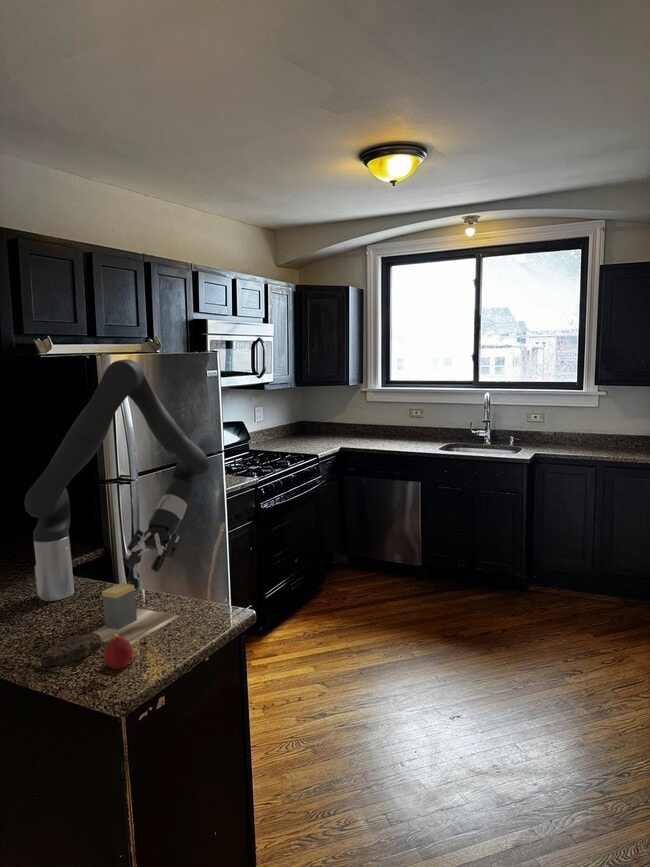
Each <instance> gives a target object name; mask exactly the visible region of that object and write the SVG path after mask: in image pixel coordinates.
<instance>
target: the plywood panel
mask: <svg viewBox="0 0 650 867" xmlns="http://www.w3.org/2000/svg"><path fill="white" fill-rule="evenodd" d="M136 616H137V620H136V621H134V622H133V623H131V624H129V625H127V626H125V627H123V628H121V629H119V630H116V629H112V628H107V627H105V625H104V626H102V627H100V628H98V629H96V630H94V631H92V632H91V633H93V632H94V633H96V634H98V635H99V636H100V637H101V638H102V640H101V641H102V643H107V644H108V643H109V642H110V641H111V640H112V639H113V635H115V634H116V635H118V636H120V637H121V638H124V639H126V640H127V641H128V642H129V643H130V644H131V645H132V644H135V643H136V642H138V641H139V640H142V639H143V638H145V637H147V636H148V635H150V634H152V633H153V632H155V631H157V630H158V629H160V628H162V627H164V626H166V625H167V624H170V623H171V622H173V621H175V620H176V619H178V618H180V617H181V616H180V615H177V614H175V613H171V612H165V611H155V610H150V609H149V610H148V609H144V608H136Z"/></svg>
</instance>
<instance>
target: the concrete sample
mask: <svg viewBox="0 0 650 867" xmlns="http://www.w3.org/2000/svg"><path fill="white" fill-rule="evenodd" d="M92 632H93V633H92ZM92 632H88V633H86V634H83V635H81V634H80V635H76V636H70V637H67V638H64V640H62V641H60V642H58V643H56V644H55V645H54V644H53V645H52V647H50V648H49V649H47V650H46V651H45V652H44V653H43V654H42V655H41V656H40V659H39V661H40V663H41V664H40V665H41V667H45V666H47V667H51V666H61V665H62V666H64V665H68V664H67V663H73V662H74V661H80V660H81V659H84V658H86V657H88V656H89V655H90V654H91V653H93V652H95V651H96V650H97V649H99V648H100V647H101V644H102V643H103V641H101V640H102V638H101V637H100V636H99V635H98V634H96V633H94V631H92Z"/></svg>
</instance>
